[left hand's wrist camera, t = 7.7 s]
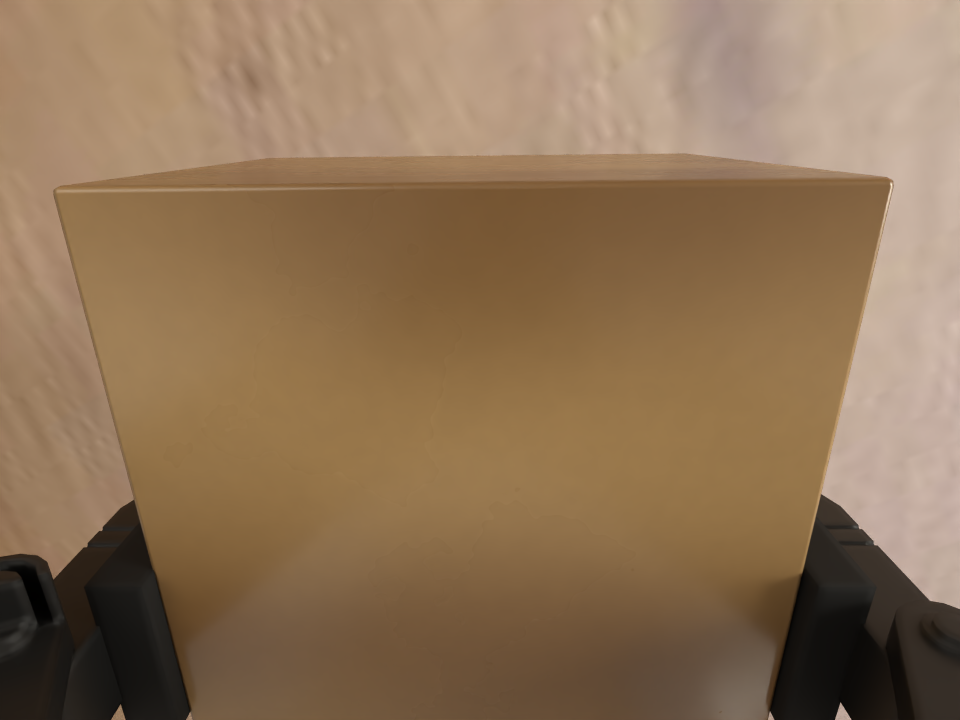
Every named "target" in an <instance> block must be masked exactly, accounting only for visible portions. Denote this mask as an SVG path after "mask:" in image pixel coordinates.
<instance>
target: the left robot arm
mask: <svg viewBox="0 0 960 720" xmlns="http://www.w3.org/2000/svg"><path fill="white" fill-rule="evenodd" d="M858 526H859V525H858V524H857V523H856V522H855V521H854V520H853V519H852V518H851V517H850V516H849V515H848V514H847V513H846V512H845V511H844V510H843V508H842V507H841V506H839V505H838V504H836V503H834V502H833V501H831V500H830V499H828V498H826V497H825V496H823V495H821V496H820V500H819V505H818V509H817V513H816V517H815V522H814V526H813V530H812V534H811V539H810V543H809V547H808V551H807V555H806V560H805V564H804V568H803V572H802V577H801V581H800V585H799V589H798V594H797V598H796V602H795V606H794V611H793V615H792V619H791V623H790V628H789V632H788V636H787V640H786V645H785V649H784V653H783V657H782V662H781V666H780V670H779V674H778V679H777V683H776V687H775V691H774V696H773V700H772V704H771V708H770V712H771V714H772V716H773V718H774V720H835V718H836V714H837V711H838V708H839V705H840V702H841V703H842V705H843V707H844V708H845V710H846V711H847V713H848V715H849V716H850V718H851V719H852V720H960V609H958V608H955V607H952V606H950V605H947V604H944V603H939V602H933V601H929V600H928V598H927V597H926V596H925V595H924V594H923V593H922V592H921V591H920V590H919V589H918V588H917V587H916V586H915V585H914V584H913V583H912V582H911V580H910V579H909V578H908V577H907V576H906V575H905V574H904V573H903V572H902V571H901V570H900V569H899V568H898V567H897V566H896V565H895V564H894V562H893V561H892V560H891V559H890V558H889V557H888V556H887V555H886V554H885V553H884V552H883V551H882V550H881V549H880V548H879V547H878V546H874V541H873V540H872V539H871V538H870V537H869V536H868V535H867V534H866V533H865V532H864V531H863V530H862V529H859V527H858ZM120 704H121V706H122V709H123V713H124V716H125V719H126V720H186V719H187V717H188V715H189V713H190V708H189V704H188V700H187V697H186V693H185V689H184V685H183V682H182V678H181V674H180V670H179V666H178V663H177V659H176V655H175V651H174V648H173V644H172V640H171V636H170V632H169V628H168V624H167V620H166V616H165V612H164V608H163V604H162V601H161V597H160V593H159V589H158V585H157V581H156V577H155V573H154V570H153V568H152V565H151V561H150V557H149V553H148V550H147V546H146V542H145V538H144V534H143V531H142V527H141V523H140V519H139V516H138V512H137V508H136V504H135V500H133V501H131V502H130V503H128V504H127V505H125V506H123V507H122V508H120V509H119V510H118V512H117V513H116V514H115V515H114V516H113V517H112V518H111V519H110V520H109V521H108V522H107V523H106V524H105V525H104V526H103V530H102V531H99V532H98V533H97V534H96V535H95V536H94V537H93V538H92V539H91V540H90V541H89V542H88V546H87V547H84V548H83V549H82V550H81V551H80V552H79V553H78V554H77V555H76V556H75V557H74V558H73V560H72V561H71V562H70V563H69V564H68V565H67V566H66V567H65V568H64V569H63V570H62V571H61V572H60V573H59V574H58V575H57V577H56V578H55V579H54V580H53V578H52V575H51V572H50V569H49V566H48V563H47V561H45V560H43V559H42V558H40V557H39V556H37V555H27V554H16V555H10V556H3V557H0V720H111V719H112V717H113V715H114V714H115V712H116V711H117V709H118V707H119V706H120Z"/></svg>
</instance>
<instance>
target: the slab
mask: <svg viewBox="0 0 960 720" xmlns="http://www.w3.org/2000/svg"><path fill="white" fill-rule="evenodd" d="M893 186H894V185H893V180H891V179H889V178H887V177H881V176H872V175H864V174H855V173H847V172H838V171H830V170H821V169H813V168H804V167H796V166H787V165H778V164H770V163H761V162H753V161H744V160H736V159H727V158H719V157H710V156H702V155H693V154H597V155H506V156H415V157H325V158H267V159H259V160H252V161H244V162H237V163H229V164H222V165H214V166H207V167H199V168H192V169H184V170H177V171H169V172H162V173H154V174H147V175H139V176H132V177H124V178H117V179H109V180H102V181H94V182H87V183H79V184H72V185H64V186H60V187H58V188H56V189H54V194H53V195H54V199H55V202H56V206H57V210H58V214H59V218H60V221H61V225H62V229H63V233H64V236H65V240H66V244H67V248H68V252H69V255H70V259H71V263H72V267H73V270H74V274H75V278H76V282H77V285H78V289H79V293H80V297H81V301H82V304H83V308H84V312H85V316H86V319H87V323H88V327H89V331H90V334H91V338H92V342H93V346H94V350H95V353H96V357H97V361H98V365H99V368H100V372H101V376H102V380H103V384H104V387H105V391H106V395H107V399H108V402H109V406H110V410H111V414H112V417H113V421H114V425H115V429H116V433H117V436H118V440H119V444H120V448H121V451H122V455H123V459H124V463H125V467H126V470H127V474H128V478H129V482H130V485H131V489H132V493H133V497H134V500H135V504H136V508H137V512H138V516H139V519H140V523H141V527H142V531H143V534H144V538H145V542H146V546H147V550H148V553H149V557H150V561H151V565H152V568H153V570H154V573H155V577H156V581H157V585H158V589H159V593H160V597H161V601H162V604H163V608H164V612H165V616H166V620H167V624H168V628H169V632H170V636H171V640H172V644H173V648H174V651H175V655H176V659H177V663H178V666H179V670H180V674H181V678H182V682H183V685H184V689H185V693H186V697H187V700H188V704H189V708H190V712H191V715H192V719H193V720H768V717H769V712H770V708H771V704H772V700H773V696H774V691H775V687H776V683H777V679H778V674H779V670H780V666H781V662H782V657H783V653H784V649H785V645H786V640H787V636H788V632H789V628H790V623H791V619H792V615H793V611H794V606H795V602H796V598H797V594H798V589H799V585H800V581H801V577H802V572H803V568H804V564H805V560H806V555H807V551H808V547H809V543H810V539H811V534H812V530H813V526H814V522H815V517H816V513H817V509H818V505H819V500H820V496H821V492H822V488H823V483H824V479H825V475H826V471H827V466H828V462H829V458H830V454H831V449H832V445H833V441H834V437H835V432H836V428H837V424H838V420H839V415H840V411H841V407H842V403H843V398H844V394H845V390H846V386H847V382H848V377H849V373H850V369H851V365H852V360H853V356H854V352H855V348H856V343H857V339H858V335H859V331H860V326H861V322H862V318H863V314H864V309H865V305H866V301H867V297H868V292H869V288H870V284H871V280H872V275H873V271H874V267H875V263H876V258H877V254H878V250H879V246H880V241H881V237H882V233H883V229H884V225H885V220H886V216H887V212H888V208H889V203H890V199H891V195H892V191H893Z"/></svg>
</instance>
